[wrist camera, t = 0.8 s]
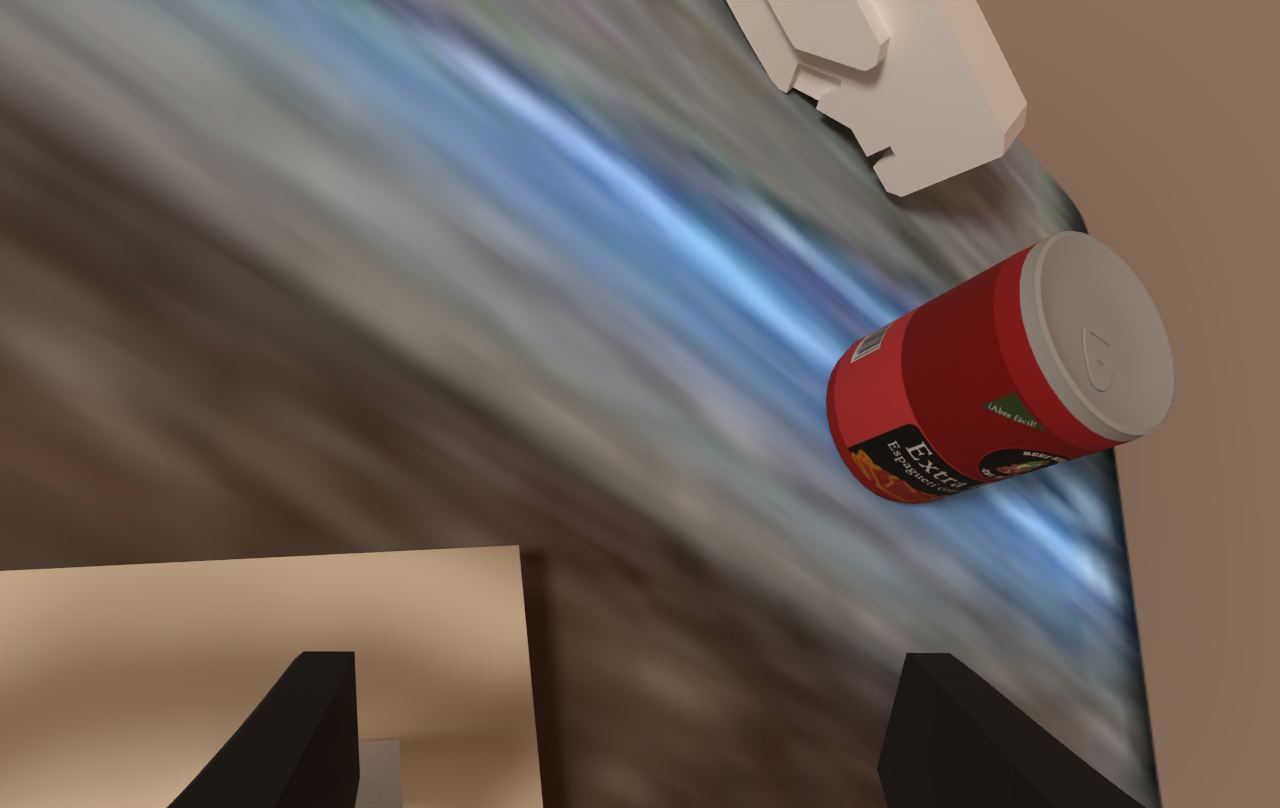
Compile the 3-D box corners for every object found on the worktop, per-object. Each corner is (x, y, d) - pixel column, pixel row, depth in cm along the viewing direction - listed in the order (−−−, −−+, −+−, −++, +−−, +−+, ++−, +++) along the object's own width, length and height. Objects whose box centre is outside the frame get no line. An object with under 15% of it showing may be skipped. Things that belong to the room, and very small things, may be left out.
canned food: (824, 493, 37) (1053, 410, 28) (816, 322, 40) (1021, 199, 31) (955, 521, 40) (1197, 456, 31) (938, 362, 43) (1155, 261, 34)
